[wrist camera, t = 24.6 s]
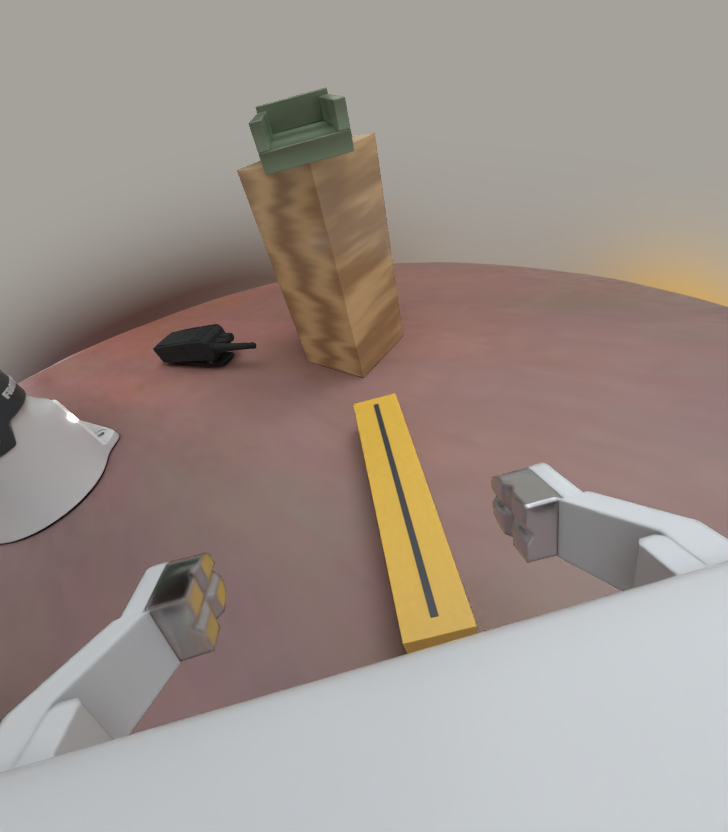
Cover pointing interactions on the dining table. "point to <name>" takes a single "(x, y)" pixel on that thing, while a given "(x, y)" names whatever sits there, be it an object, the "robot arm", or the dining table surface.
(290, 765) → the robot arm
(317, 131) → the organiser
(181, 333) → the walkie-talkie
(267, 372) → the dining table surface
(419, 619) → the pencil case
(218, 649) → the dining table surface
